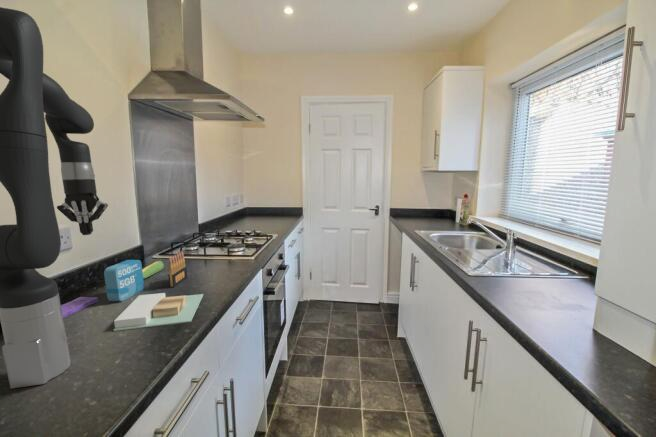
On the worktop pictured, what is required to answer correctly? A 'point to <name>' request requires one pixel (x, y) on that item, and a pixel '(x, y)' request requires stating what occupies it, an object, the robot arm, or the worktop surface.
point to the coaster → (169, 306)
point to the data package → (124, 280)
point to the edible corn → (152, 269)
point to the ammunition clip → (177, 270)
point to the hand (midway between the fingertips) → (87, 234)
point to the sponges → (77, 305)
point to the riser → (138, 311)
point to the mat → (183, 316)
